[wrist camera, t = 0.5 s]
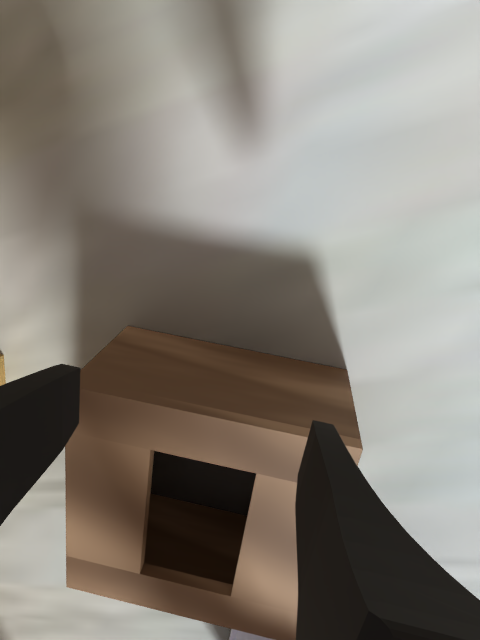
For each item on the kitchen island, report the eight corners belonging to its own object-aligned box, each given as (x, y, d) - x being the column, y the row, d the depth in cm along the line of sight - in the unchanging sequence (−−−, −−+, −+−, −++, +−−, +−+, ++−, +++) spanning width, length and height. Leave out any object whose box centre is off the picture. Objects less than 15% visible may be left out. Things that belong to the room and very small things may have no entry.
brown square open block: (300, 535, 27) (299, 645, 21) (118, 493, 27) (66, 587, 21) (347, 369, 22) (362, 449, 16) (127, 325, 23) (64, 385, 17)
